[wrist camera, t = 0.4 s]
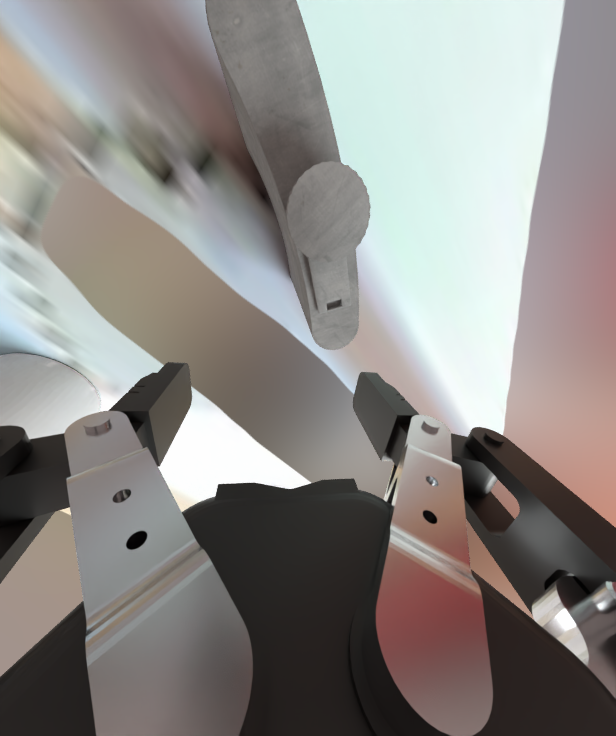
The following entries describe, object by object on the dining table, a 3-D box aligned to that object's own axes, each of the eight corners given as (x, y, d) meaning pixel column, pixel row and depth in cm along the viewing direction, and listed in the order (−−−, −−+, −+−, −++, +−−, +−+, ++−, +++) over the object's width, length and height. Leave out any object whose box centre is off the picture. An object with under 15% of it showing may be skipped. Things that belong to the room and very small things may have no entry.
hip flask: (239, 125, 22) (153, -141, 5) (279, 108, 22) (320, -221, 5) (294, 288, 31) (326, 376, 14) (323, 278, 31) (389, 354, 14)
